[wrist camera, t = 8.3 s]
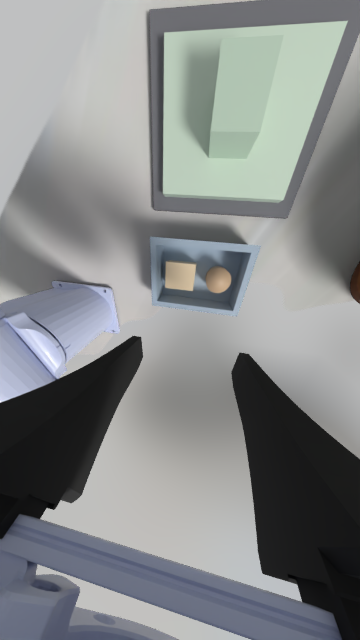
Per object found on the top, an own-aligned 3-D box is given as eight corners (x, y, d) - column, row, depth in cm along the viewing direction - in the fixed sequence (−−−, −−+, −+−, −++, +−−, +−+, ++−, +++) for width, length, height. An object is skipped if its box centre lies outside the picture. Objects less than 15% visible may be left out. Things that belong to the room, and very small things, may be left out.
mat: (154, 210, 14) (153, 209, 13) (151, 18, 9) (149, 9, 8) (284, 218, 13) (287, 217, 12) (367, 2, 8) (375, -9, 7)
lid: (165, 196, 13) (153, 180, 10) (167, 49, 9) (148, -57, 6) (278, 202, 12) (306, 187, 9) (335, 40, 8) (419, -92, 5)
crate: (159, 296, 18) (152, 305, 16) (159, 238, 15) (149, 236, 12) (231, 305, 17) (237, 316, 15) (249, 245, 14) (260, 245, 11)
